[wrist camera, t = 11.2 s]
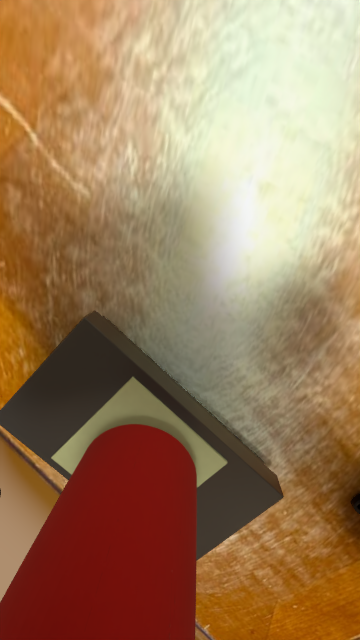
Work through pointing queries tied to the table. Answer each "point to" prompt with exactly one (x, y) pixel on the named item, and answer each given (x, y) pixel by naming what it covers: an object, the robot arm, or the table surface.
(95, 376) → the tray
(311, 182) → the table surface
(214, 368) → the table surface
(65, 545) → the beverage can
